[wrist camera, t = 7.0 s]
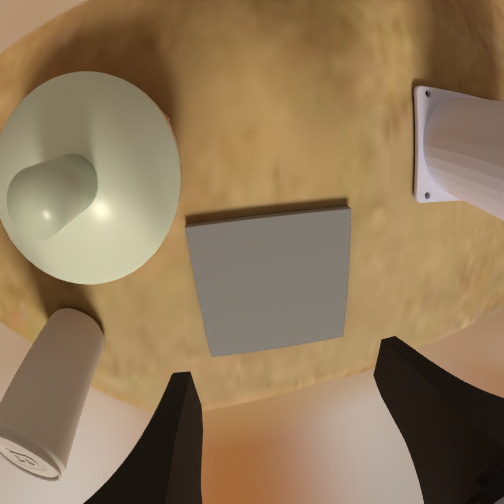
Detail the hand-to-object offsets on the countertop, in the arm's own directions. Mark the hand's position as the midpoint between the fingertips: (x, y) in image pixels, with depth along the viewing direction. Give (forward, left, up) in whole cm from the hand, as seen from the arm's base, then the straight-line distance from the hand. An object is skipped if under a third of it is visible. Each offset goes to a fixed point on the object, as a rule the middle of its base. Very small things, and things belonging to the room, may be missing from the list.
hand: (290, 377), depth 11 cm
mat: (-1, +2, -10) cm, 10 cm away
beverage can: (+14, +4, -10) cm, 18 cm away
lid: (+9, -7, -6) cm, 13 cm away
